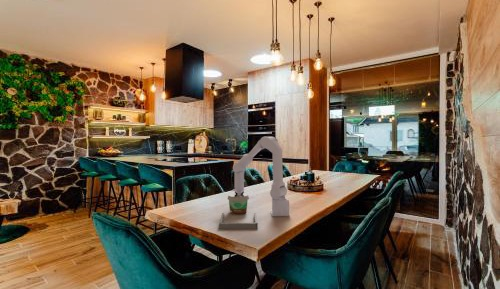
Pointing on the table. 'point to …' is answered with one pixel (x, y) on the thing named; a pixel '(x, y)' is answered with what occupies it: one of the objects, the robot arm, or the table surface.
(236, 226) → the dock
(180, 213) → the table surface
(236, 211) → the food container
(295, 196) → the table surface
